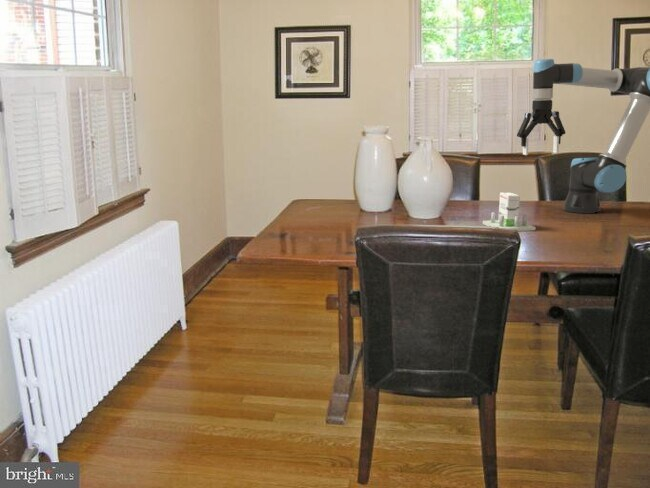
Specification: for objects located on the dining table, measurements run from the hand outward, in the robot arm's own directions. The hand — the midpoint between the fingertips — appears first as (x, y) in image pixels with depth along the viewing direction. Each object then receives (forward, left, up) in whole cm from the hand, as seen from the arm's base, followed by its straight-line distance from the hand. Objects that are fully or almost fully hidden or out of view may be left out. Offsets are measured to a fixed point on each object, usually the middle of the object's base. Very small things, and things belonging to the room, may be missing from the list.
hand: (540, 153), depth 281 cm
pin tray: (+18, +12, -27) cm, 35 cm away
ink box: (+19, +12, -26) cm, 34 cm away
